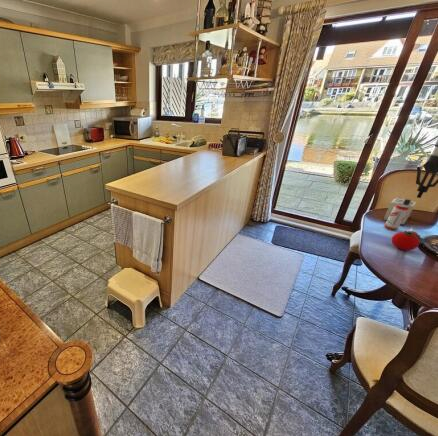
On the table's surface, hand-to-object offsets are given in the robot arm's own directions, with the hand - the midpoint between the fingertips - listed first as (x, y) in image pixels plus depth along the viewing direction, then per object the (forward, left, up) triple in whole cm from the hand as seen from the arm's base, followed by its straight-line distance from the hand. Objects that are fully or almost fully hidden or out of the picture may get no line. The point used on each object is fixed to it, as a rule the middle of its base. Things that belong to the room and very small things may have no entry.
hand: (418, 197), depth 139 cm
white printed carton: (+6, -18, -23) cm, 30 cm away
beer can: (+5, 0, -23) cm, 23 cm away
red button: (-5, +10, -19) cm, 22 cm away
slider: (+4, -15, -10) cm, 18 cm away
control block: (-5, +10, -23) cm, 25 cm away
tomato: (-4, +24, -23) cm, 33 cm away
